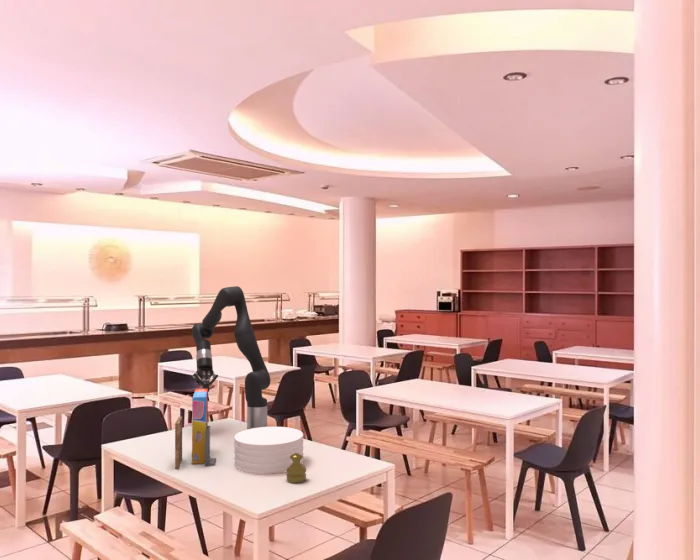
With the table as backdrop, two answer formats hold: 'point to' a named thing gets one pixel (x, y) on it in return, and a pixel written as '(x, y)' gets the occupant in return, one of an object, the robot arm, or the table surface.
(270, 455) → the plate stack
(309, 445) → the table surface
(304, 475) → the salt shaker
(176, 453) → the oak shelf wall
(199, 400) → the game box
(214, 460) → the dark metal bookend
